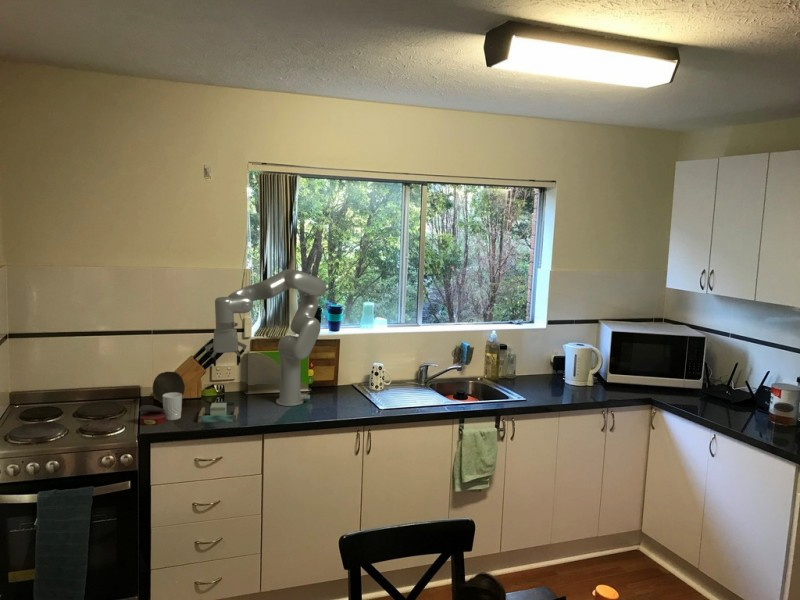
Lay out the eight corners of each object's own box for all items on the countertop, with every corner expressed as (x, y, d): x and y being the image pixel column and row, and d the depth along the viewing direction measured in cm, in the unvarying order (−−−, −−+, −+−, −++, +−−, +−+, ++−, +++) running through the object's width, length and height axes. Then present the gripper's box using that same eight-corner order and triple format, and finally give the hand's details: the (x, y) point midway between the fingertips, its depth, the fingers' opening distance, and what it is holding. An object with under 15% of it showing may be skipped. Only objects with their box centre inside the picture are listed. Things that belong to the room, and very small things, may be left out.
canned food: (139, 434, 265) (129, 412, 265) (160, 425, 273) (150, 404, 273) (153, 427, 258) (144, 404, 259) (174, 418, 267) (164, 396, 267)
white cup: (163, 421, 267) (162, 398, 266) (162, 416, 274) (161, 393, 273) (183, 419, 270) (182, 396, 269) (181, 414, 278) (181, 391, 276)
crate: (226, 416, 277) (226, 402, 277) (225, 420, 271) (225, 406, 270) (211, 416, 276) (211, 402, 276) (210, 421, 270) (210, 407, 269)
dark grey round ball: (192, 402, 295) (191, 371, 293) (169, 410, 282) (168, 377, 280) (168, 398, 300) (168, 367, 299) (145, 406, 288) (144, 373, 286)
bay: (238, 412, 283) (238, 406, 282) (236, 421, 270) (236, 415, 270) (202, 413, 280) (202, 407, 280) (197, 422, 267) (197, 416, 267)
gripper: (246, 323, 279) (247, 362, 282) (204, 325, 276) (206, 363, 278) (245, 327, 272) (246, 366, 274) (202, 328, 268) (204, 368, 271)
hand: (226, 365), depth 276 cm, fingers open, 9 cm apart
